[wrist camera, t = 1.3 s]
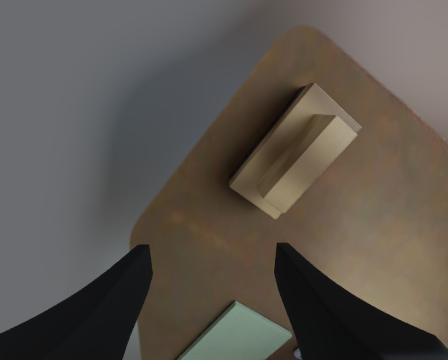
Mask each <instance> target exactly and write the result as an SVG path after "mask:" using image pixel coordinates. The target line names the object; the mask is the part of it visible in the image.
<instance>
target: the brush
mask: <svg viewBox="0 0 448 360" xmlns="http://www.w3.org/2000/svg"><path fill="white" fill-rule="evenodd" d="M361 128H362V127H361V126H360V125H359V124H358V123H357V122H356V121H355V120H354V119H353V118H352V117H351V116H350V115H349V114H347V113H346V112H345V111H344V110H343V109H342V108H341V107H340V106H339V105H338V104H337V103H336V102H335V101H334V100H333V99H332V98H331V97H330V96H329V95H328V94H327V93H325V92H324V91H323V90H322V89H321V88H320V87H319V86H318V85H317V84H316V83H311V84H308V85H307V86H303V87H301V88H300V90H299V91H298V92H297V93H296V95H295V96H294V97H293V98H292V100H291V101H290V102H289V103H288V104H287V106H286V107H285V108H284V109H283V111H282V112H281V113H280V114H279V116H278V117H277V118H276V119H275V121H274V122H273V123H272V124H271V126H270V127H269V128H268V129H267V130H266V132H265V133H264V134H263V135H262V137H261V138H260V139H259V140H258V142H257V143H256V144H255V145H254V147H253V148H252V149H251V150H250V152H249V153H248V154H247V155H246V156H245V158H244V159H243V160H242V161H241V163H240V164H239V165H238V166H237V168H236V169H235V170H234V171H233V173H232V174H231V175H230V176H229V187H230V188H232V189H233V190H235V191H236V192H237V193H239V194H240V195H242V196H243V197H244V198H246V199H247V200H249V201H250V202H251V203H253V204H254V205H256V206H257V207H258V208H260V209H261V210H263V211H264V212H265V213H267V214H268V215H270V216H271V217H272V218H274V219H277V218H278V217H279V215H280V214H281V213H283V214H284V213H285V212H286V211H287V210H288V209H289V208H290V207H291V206H292V205H293V204H294V202H295V201H296V200H297V199H298V198H299V197H300V196H301V195H302V194H303V193H304V192H305V191H306V190H307V189H308V188H309V186H310V185H311V184H312V183H313V182H314V181H315V180H316V179H317V178H318V177H319V176H320V175H321V174H322V173H323V172H324V170H325V169H326V168H327V167H328V166H329V165H330V164H331V163H332V162H333V161H334V160H335V159H336V158H337V157H338V156H339V155H340V153H341V152H342V151H343V150H344V149H345V148H346V147H347V146H348V145H349V144H350V143H351V142H352V141H353V140H354V139H355V137H356V136H357V134H356V133H357V132H358V131H359V130H360V129H361Z"/></svg>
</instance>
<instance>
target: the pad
mask: <svg viewBox="0 0 448 360" xmlns="http://www.w3.org/2000/svg"><path fill="white" fill-rule="evenodd" d="M291 337H292V334H291V332H290V331H288V330H286V329H284V328H283V327H281V326H279V325H277V324H276V323H274V322H272V321H270V320H269V319H267V318H265V317H263V316H262V315H260V314H258V313H256V312H255V311H253V310H251V309H249V308H248V307H246V306H244V305H242V304H241V303H239V302H237V301H235V302H234V303H233V304H232V305H231V306H230V307H229V308H228V309H227V310H226V311H225V312H224V313H223V314H222V315H221V316H220V317H219V318H218V319H217V320H216V321H215V322H214V323H213V324H212V325H211V326H210V327H209V328H208V329H207V330H206V331H205V332H204V333H203V334H202V335H201V336H200V337H199V338H198V339H197V340H196V341H195V342H194V343H193V344H192V345H191V346H190V347H189V348H188V349H187V350H186V351H185V352H184V353H183V354H182V355H181V356H180V357H179V358H178V359H177V360H265V359H266V358H268V357H269V356H270V355H271V354H272V353H274V352H275V351H276V350H277V349H278V348H279V347H281V346H282V345H283V344H284V343H285V342H286V341H288V340H289V339H290V338H291Z"/></svg>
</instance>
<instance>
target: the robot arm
mask: <svg viewBox="0 0 448 360" xmlns="http://www.w3.org/2000/svg"><path fill="white" fill-rule="evenodd" d="M274 274H275V278H276V283H277V286H278V290H279V293H280V296H281V298H282V301H283V304H284V307H285V309H286V312H287V315H288V317H289V320H290V323H291V325H292V328H293V331H294V334H295V337H296V340H297V343H298V346H299V348H298V349H296V350H295V351H294V355H295V357H297V358H299V359H301V360H448V348H447V347H446V346H445V345H444V344H443V343H442V342H441V341H440V340H439V339H438V338H437V337H436V336H435V335H433V334H430V333H428V332H426V331H424V330H421V329H419V328H417V327H414V326H412V325H410V324H408V323H405V322H403V321H401V320H399V319H397V318H395V317H393V316H391V315H389V314H387V313H385V312H383V311H381V310H379V309H377V308H375V307H374V306H372V305H370V304H368V303H367V302H365V301H363V300H361V299H360V298H358V297H356V296H355V295H353V294H351V293H350V292H348V291H347V290H345V289H344V288H342V287H341V286H339V285H338V284H336V283H335V282H334V281H332V280H331V279H330V278H328V277H327V276H326V275H324V274H323V273H322V272H321V271H319V270H318V269H317V268H316V267H314V266H313V265H312V264H311V263H310V262H309V261H307V260H306V259H305V258H304V257H303V256H302V255H301V254H300V253H299V252H297V251H296V250H295V249H294V248H293V247H292V246H291V245H290V244H289V243H277V248H276V258H275V268H274ZM152 276H153V271H152V263H151V255H150V248H149V245H137V246H136V247H135V248H133V249H132V250H131V251H130V252H129V253H128V254H126V255H125V256H124V257H123V258H122V259H120V260H119V261H118V262H117V263H116V264H114V265H113V266H112V267H111V268H110V269H108V270H107V271H106V272H104V273H103V274H102V275H100V276H99V277H98V278H97V279H95V280H94V281H92V282H91V283H90V284H88V285H87V286H86V287H84V288H83V289H81V290H80V291H78V292H77V293H75V294H73V295H72V296H70V297H69V298H67V299H65V300H64V301H62V302H60V303H59V304H57V305H55V306H53V307H52V308H50V309H48V310H47V311H45V312H43V313H41V314H39V315H37V316H35V317H34V318H32V319H29V320H28V321H26V322H24V323H21V324H19V325H17V326H15V327H13V328H11V329H9V330H7V331H5V332H3V333H0V360H122V359H123V356H124V353H125V350H126V346H127V344H128V341H129V338H130V335H131V333H132V330H133V328H134V326H135V323H136V321H137V318H138V316H139V313H140V311H141V308H142V306H143V304H144V301H145V299H146V296H147V293H148V290H149V287H150V283H151V280H152Z"/></svg>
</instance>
